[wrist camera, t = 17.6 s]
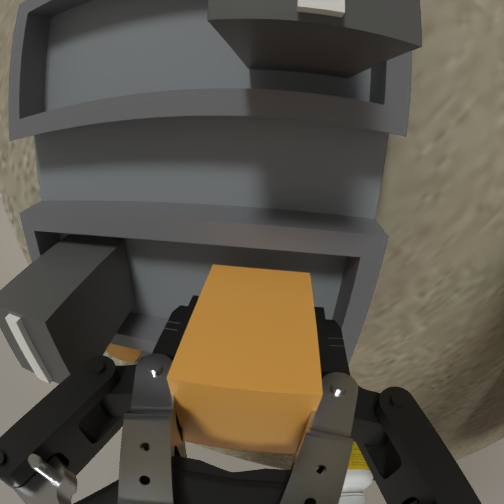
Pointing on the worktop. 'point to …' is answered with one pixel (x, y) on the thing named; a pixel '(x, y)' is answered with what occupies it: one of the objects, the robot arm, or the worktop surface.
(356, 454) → the supplement bottle
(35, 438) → the robot arm
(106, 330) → the knob tagged
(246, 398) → the block
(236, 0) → the knob
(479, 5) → the worktop surface
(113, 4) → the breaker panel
